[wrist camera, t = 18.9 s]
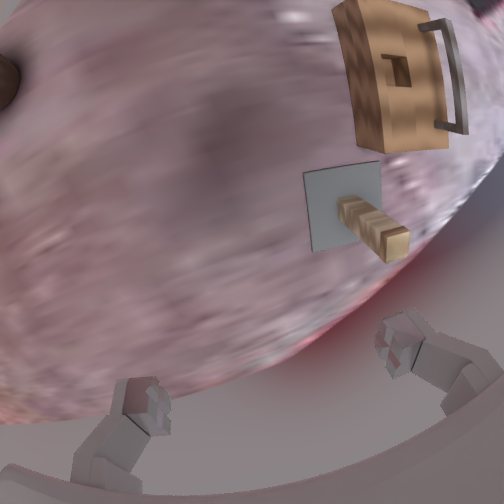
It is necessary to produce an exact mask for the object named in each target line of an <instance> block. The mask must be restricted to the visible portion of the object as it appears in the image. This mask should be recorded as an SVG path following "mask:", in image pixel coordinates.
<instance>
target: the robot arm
mask: <svg viewBox="0 0 504 504" xmlns="http://www.w3.org/2000/svg"><path fill="white" fill-rule="evenodd" d="M376 328H377V330H378V332H377V334H376V335H375V339H374V344H375V349H376V352H377V354H378V356H379V357H380V358H381V359H383V360H385V361H386V365H385V367H386V369H387V371H388V372H389V374H390V376H391V377H392V379H395V378H397V377H400V376H402V375H404V374H406V373H409V372H411V371H412V373H413V374H415V375H417V376H419V377H420V378H422V379H424V380H425V381H427V382H429V383H431V384H432V385H434V386H436V387H438V388H439V389H441V390H443V391H445V392H446V393H447V394H446V396H445V397H444V399H443V400H442V402H441V405H440V406H441V408H442V409H443V411H444V413H445V415H446V416H447V417H446V418H444V419H443V420H441V421H440V422H438V423H436V424H435V425H433V426H431V427H430V428H428V429H426V430H425V431H423V432H421V433H419V434H417V435H416V436H414V437H412V438H410V439H408V440H406V441H404V442H402V443H400V444H398V445H396V446H394V447H392V448H390V449H388V450H386V451H384V452H381V453H379V454H377V455H374V456H372V457H370V458H367V459H365V460H362V461H360V462H357V463H355V464H352V465H349V466H346V467H343V468H341V469H338V470H335V471H332V472H328V473H326V474H322V475H319V476H315V477H312V478H308V479H304V480H301V481H296V482H292V483H288V484H283V485H279V486H273V487H268V488H263V489H257V490H250V491H243V492H234V493H225V494H213V495H189V496H172V495H171V496H170V495H149V494H142V480H141V479H140V478H138V477H136V476H135V475H133V474H131V473H130V472H131V470H132V468H133V467H134V465H135V463H136V462H137V460H138V458H139V457H140V455H141V453H142V452H143V450H144V448H145V447H146V445H147V443H148V442H149V440H150V437H152V436H165V435H170V431H171V420H170V419H169V417H168V416H167V415H168V414H169V412H170V411H171V400H170V396H169V394H168V392H167V390H166V389H165V388H164V387H162V386H159V383H160V381H159V380H158V379H157V377H156V376H151V377H140V378H127V379H118V381H117V382H116V385H115V390H114V394H113V399H112V405H111V410H110V415H106V416H105V417H104V419H103V420H102V421H101V422H100V423H99V424H98V426H97V427H96V428H95V429H94V430H93V432H92V433H91V434H90V435H89V436H88V437H87V439H86V440H85V441H84V442H83V443H82V445H81V446H80V447H79V448H78V449H77V451H76V452H75V453H74V458H73V464H72V471H71V478H70V482H68V481H64V480H60V479H57V478H53V477H50V476H47V475H44V474H41V473H38V472H35V471H32V470H29V469H27V468H24V467H21V466H19V465H16V464H8V465H7V466H5V467H4V468H3V469H2V471H1V472H0V504H504V371H503V369H502V368H501V367H500V365H499V364H498V363H497V362H496V360H495V359H494V358H493V357H492V356H491V354H490V353H489V352H488V351H487V350H486V349H483V348H480V347H477V346H475V345H472V344H470V343H467V342H464V341H462V340H459V339H456V338H454V337H451V336H448V335H446V334H443V333H441V332H439V333H436V332H435V331H434V329H433V328H432V327H431V326H430V325H429V324H428V322H427V321H426V320H425V319H424V318H423V317H422V315H421V314H420V313H419V312H418V311H417V310H416V309H415V308H414V307H410V308H408V309H405V310H403V311H401V312H398V313H395V314H393V315H390V316H388V317H385V318H383V319H381V320H379V321H378V322H377V326H376Z"/></svg>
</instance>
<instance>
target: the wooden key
mask: <svg viewBox="0 0 504 504" xmlns="http://www.w3.org/2000/svg"><path fill="white" fill-rule="evenodd" d="M337 207H338V219H339V220H340V221H341V222H342V223H343V224H344V225H346V226H347V227H348V228H349V229H350V230H351V231H352V232H353V233H354V234H356V235H357V236H358V237H359V238H360V239H361V240H362V241H363V242H364V243H365V244H366V245H367V246H369V247H370V248H371V249H372V250H373V251H374V252H375V253H376V254H377V255H378V256H379V258H380V259H381V260H382V261H383V262H385V263H389V262H392V261H395V260H399V259H402V258H405V257H408V252H409V242H410V230H408V229H407V228H406V227H404V226H402V225H400V224H399V223H397V222H396V221H395V220H393V219H392V218H390V217H389V216H387V215H386V214H384V213H383V212H381V211H380V210H378V209H377V208H375V207H374V206H372V205H371V204H369V203H367V202H366V201H364V200H363V199H361V198H360V197H358V196H356V195H354V196H349V197H344V198H339V199H337Z"/></svg>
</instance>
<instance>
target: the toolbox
mask: <svg viewBox="0 0 504 504" xmlns="http://www.w3.org/2000/svg"><path fill="white" fill-rule="evenodd" d="M332 13H333V16H334V20H335V23H336V27H337V31H338V35H339V39H340V43H341V48H342V52H343V57H344V62H345V67H346V72H347V77H348V83H349V88H350V94H351V101H352V107H353V114H354V122H355V130H356V139H357V146H360V147H363V148H367V149H370V150H374V151H377V152H380V153H384V154H388V153H397V152H407V151H418V150H431V149H446V148H449V138H448V131H450V132H455V133H458V134H462V135H469V131H468V113H467V101H466V92H465V84H464V77H463V71H462V65H461V60H460V55H459V50H458V45H457V41H456V37H455V33H454V29H453V26H452V22H451V20H448V19H446V18H443V19H438V20H434V21H430V17H429V14H428V11H426V10H423V9H419V8H416V7H413V6H409V5H406V4H402V3H398V2H394V1H390V0H345V1H343V2H342V3H340V4H339V5H338V6H336V7H335V8H333V9H332ZM440 29H441V31H442V35H443V39H444V43H445V48H446V52H447V57H448V62H449V68H450V74H451V80H452V88H453V96H454V105H455V118H456V124H454V123H448V119H447V107H446V97H445V89H444V82H443V75H442V69H441V63H440V58H439V53H438V49H437V44H436V40H435V36H434V32H433V31H435V30H440Z"/></svg>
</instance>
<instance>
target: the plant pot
mask: <svg viewBox="0 0 504 504" xmlns="http://www.w3.org/2000/svg"><path fill="white" fill-rule="evenodd" d="M19 80H20V76H19V71H18V70H17V68H16V67H15V66H14V65H13V64H12V63H11V62H10V61H9V60H7V59H6V58H5V57H4V56H2V55H1V54H0V109H2V108H3V107H4V106H6V105H7V104H9V103H10V101H11V100H12V99H13V98H14V96H15V94H16V92H17V90H18V86H19Z"/></svg>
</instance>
